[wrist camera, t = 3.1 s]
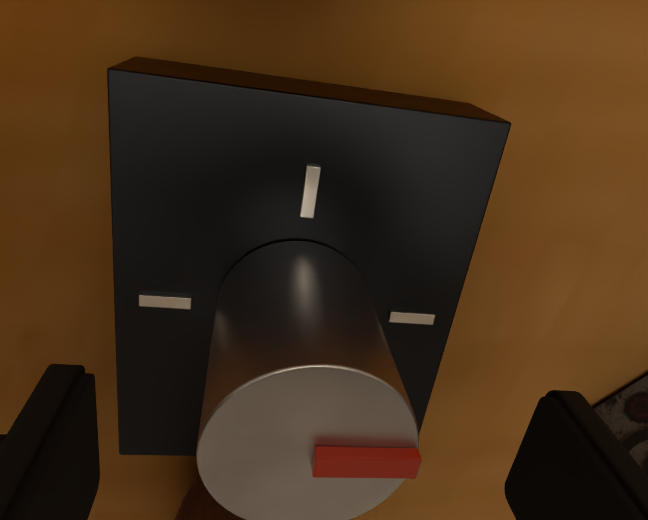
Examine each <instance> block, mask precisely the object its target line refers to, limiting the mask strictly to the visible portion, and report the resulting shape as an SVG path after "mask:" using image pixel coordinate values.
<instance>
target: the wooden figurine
mask: <svg viewBox="0 0 648 520" xmlns="http://www.w3.org/2000/svg"><path fill="white" fill-rule="evenodd" d="M175 520H245V519H243V518H241V517H239V516H236V515H235V514H233V513H232V512H230V511H228V510H227V509H225V508H224V507H223V506H222V505H221V504H219V503H218V502H217V501H216V500H215V499H214V498H213V496H212V495H211V494H210V493H209V491H208V490H207V488H206V487H205V485H204V483H203V481H202V479H201V476H200V474H199V475H198V477H197V478H196V480H195V481H194V482H193V484H192V486H191V487H190V489H189V491H188V493H187V494H186V496H185V498H184V499H183V502H182V504H181V506H180V508H179V511H178V513H177V515H176V517H175Z"/></svg>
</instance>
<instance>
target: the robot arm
mask: <svg viewBox="0 0 648 520" xmlns="http://www.w3.org/2000/svg"><path fill="white" fill-rule="evenodd" d="M99 478H100V466H99V447H98V429H97V410H96V392H95V377H94V374H89V373H85V369H84V366H82V365H65V364H51V365H49V367H48V368H47V369H46V371H45V373H44V374H43V376H42V377H41V379H40V381H39V382H38V384H37V386H36V387H35V389H34V391H33V392H32V394H31V396H30V397H29V399H28V401H27V402H26V404H25V406H24V407H23V409H22V410H21V412H20V414H19V415H18V417H17V419H16V420H15V422H14V424H13V425H12V427H11V429H10V430H9V432H8V434H7V435H3V434H0V520H87V519H88V516H89V513H90V511H91V508H92V505H93V502H94V499H95V496H96V493H97V490H98V485H99ZM505 496H506V499H507V502H508V504H509V506H510V508H511V510H512V512H513V514H514V516H515V518H516V520H648V475H647V474H646V473H645V472H644V470H643V469H642V468H641V467H640V466H639V464H638V463H637V462H636V461H635V459H634V458H633V457H632V456H631V455H630V453H629V452H628V451H627V450H626V448H625V447H624V446H623V445H622V443H621V442H620V441H619V440H618V439H617V437H616V436H615V435H614V434H613V432H612V431H611V430H610V429H609V427H608V426H607V425H606V424H605V423H604V421H603V420H602V419H601V418H600V416H599V415H598V414H597V413H596V412H595V410H594V409H593V408H592V407H591V405H590V404H589V403H588V402H587V400H586V399H585V398H584V397H583V396H582V395H581V394H580V393H578V392H576V391H558V390H552V391H549V392H548V393H547V394H546V396H545V397H542V398H540V400H539V402H538V404H537V407H536V409H535V411H534V414H533V416H532V419H531V421H530V423H529V426H528V428H527V431H526V433H525V436H524V438H523V440H522V443H521V445H520V448H519V450H518V453H517V455H516V457H515V460H514V462H513V465H512V467H511V470H510V472H509V474H508V477H507V479H506V482H505Z"/></svg>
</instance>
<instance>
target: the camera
mask: <svg viewBox="0 0 648 520" xmlns="http://www.w3.org/2000/svg"><path fill="white" fill-rule="evenodd" d="M594 410H595V412H596V413H597V414H598V415H599V416H600V418H601V419H602V420H603V421H604V423H605V424H606V425H607V426H608V427H609V429H610V430H611V431H612V432H613V434H614V435H615V436H616V437H617V439H618V440H619V441H620V442H621V443H622V445H623V446H624V447H625V448H626V450H627V451H628V452H629V453H630V455H631V456H632V457H633V458H634V459H635V461H636V462H637V463H638V464H639V466H640V467H641V468H642V469H643V470H644V472H645V473H646V474H647V475H648V375H647V376H645V377H644V378H642V379H640V380H639V381H637V382H636V383H634V384H632V385H631V386H629V387H628V388H626V389H624V390H623V391H621V392H620V393H618V394H616V395H615V396H613V397H611V398H610V399H608V400H607V401H605V402H603V403H602V404H600V405H599V406H597V407H595V408H594Z"/></svg>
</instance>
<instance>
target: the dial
mask: <svg viewBox="0 0 648 520" xmlns="http://www.w3.org/2000/svg"><path fill="white" fill-rule="evenodd" d="M418 445H419V431H418V424H417V420H416V417H415V414H414V411H413V409H412V406H411V404H410V401H409V398H408V396H407V393H406V391H405V388H404V385H403V383H402V380H401V377H400V375H399V372H398V370H397V367H396V364H395V362H394V359H393V357H392V354H391V351H390V349H389V346H388V343H387V341H386V338H385V336H384V333H383V330H382V328H381V325H380V322H379V320H378V317H377V315H376V312H375V309H374V307H373V304H372V302H371V299H370V296H369V294H368V291H367V288H366V286H365V283H364V281H363V279H362V277H361V275H360V273H359V272H358V270H357V269H356V268H355V266H354V265H353V264H352V263H351V262H350V261H349V260H348V259H347V258H345V257H344V256H343V255H341V254H340V253H338V252H336V251H335V250H333V249H331V248H328V247H326V246H324V245H320V244H317V243H313V242H306V241H285V242H279V243H274V244H270V245H267V246H264V247H262V248H260V249H258V250H255V251H253V252H252V253H250V254H249V255H247V256H246V257H244V258H243V259H242V260H240V261H239V262H238V263H237V264H236V265H235V266H234V267H233V268H232V269H231V270H230V272H229V273H228V275H227V276H226V278H225V279H224V281H223V283H222V285H221V287H220V291H219V294H218V298H217V305H216V312H215V319H214V327H213V334H212V341H211V348H210V355H209V363H208V370H207V377H206V384H205V392H204V399H203V406H202V413H201V420H200V428H199V435H198V442H197V449H196V458H197V466H198V470H199V474H200V476H201V479H202V481H203V483H204V485H205V487H206V488H207V490H208V491H209V493H210V494H211V495H212V496H213V498H214V499H215V500H216V501H217V502H218V503H219V504H221V505H222V506H223V507H224V508H225V509H227V510H228V511H230V512H232V513H233V514H235V515H236V516H239V517H241V518H243V519H245V520H350V519H352V518H355V517H357V516H359V515H362V514H363V513H365V512H367V511H369V510H371V509H373V508H374V507H376V506H377V505H379V504H380V503H382V502H383V501H384V500H385V499H387V498H388V497H389V496H390V495H391V494H392V493H393V492H394V491H395V490H396V489H397V488H398V487H399V486H400V485H401V483H402V482H403V481H404V480H405V479H415V478H416V475H417V472H418V469H419V466H420V462H421V456H420V454H419V451H418Z"/></svg>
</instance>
